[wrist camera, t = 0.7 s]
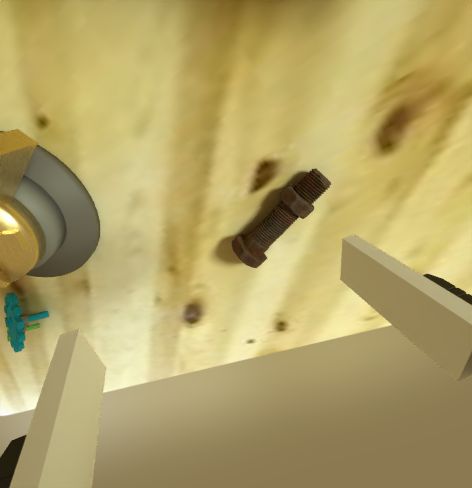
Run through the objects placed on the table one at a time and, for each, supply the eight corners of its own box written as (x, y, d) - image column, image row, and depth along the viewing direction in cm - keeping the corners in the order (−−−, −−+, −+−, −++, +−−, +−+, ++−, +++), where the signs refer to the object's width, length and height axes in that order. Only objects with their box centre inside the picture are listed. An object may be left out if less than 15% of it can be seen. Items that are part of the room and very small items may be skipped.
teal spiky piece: (3, 283, 43) (16, 339, 40) (46, 277, 48) (61, 327, 45) (-3, 313, 49) (8, 364, 46) (35, 305, 54) (48, 351, 51)
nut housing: (-95, 105, 31) (-148, 109, 27) (99, 157, 34) (79, 168, 29) (-41, 253, 42) (-72, 273, 38) (100, 283, 45) (85, 304, 41)
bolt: (319, 170, 36) (248, 244, 42) (300, 153, 32) (226, 236, 38) (346, 196, 33) (264, 272, 39) (328, 181, 29) (242, 267, 35)
